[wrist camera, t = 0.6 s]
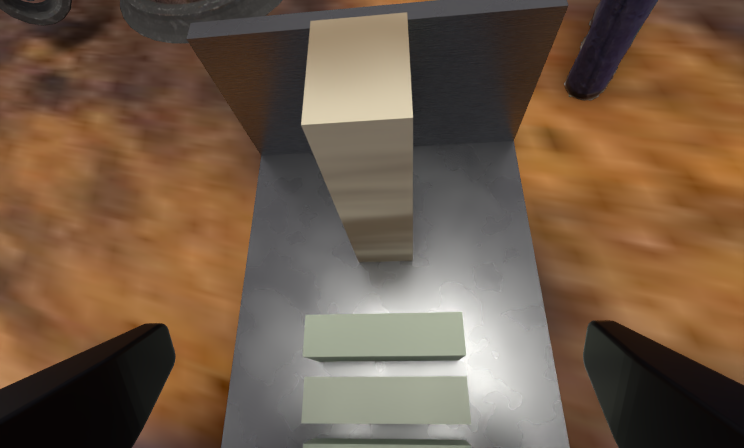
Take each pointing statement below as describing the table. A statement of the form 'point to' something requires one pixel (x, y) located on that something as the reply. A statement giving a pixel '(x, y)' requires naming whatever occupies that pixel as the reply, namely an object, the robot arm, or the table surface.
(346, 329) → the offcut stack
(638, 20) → the flask
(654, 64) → the table surface
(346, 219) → the birch block
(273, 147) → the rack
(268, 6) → the tankard
